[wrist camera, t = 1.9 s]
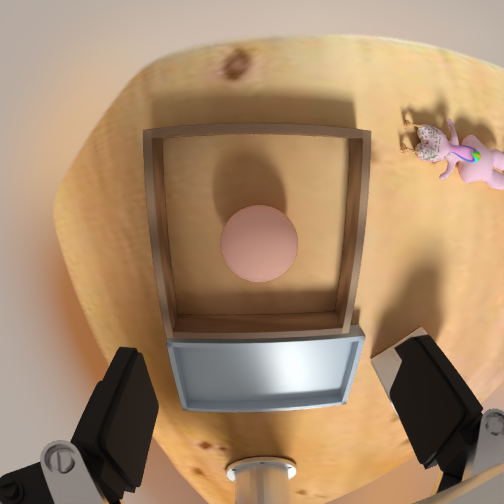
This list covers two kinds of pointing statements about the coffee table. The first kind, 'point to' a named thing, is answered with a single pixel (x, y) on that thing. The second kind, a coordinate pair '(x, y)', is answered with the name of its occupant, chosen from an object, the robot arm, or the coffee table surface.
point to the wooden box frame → (271, 322)
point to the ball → (259, 243)
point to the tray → (265, 372)
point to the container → (392, 361)
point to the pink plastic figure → (459, 155)
